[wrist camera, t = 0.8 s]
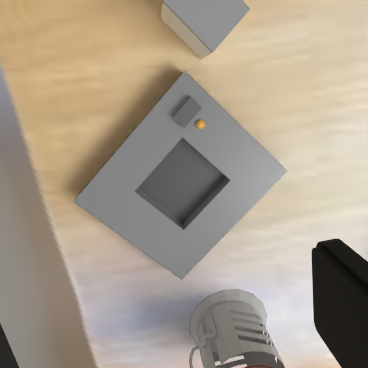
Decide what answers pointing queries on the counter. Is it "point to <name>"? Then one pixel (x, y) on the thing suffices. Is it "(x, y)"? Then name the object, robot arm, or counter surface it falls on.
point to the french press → (232, 331)
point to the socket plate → (181, 178)
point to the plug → (202, 21)
